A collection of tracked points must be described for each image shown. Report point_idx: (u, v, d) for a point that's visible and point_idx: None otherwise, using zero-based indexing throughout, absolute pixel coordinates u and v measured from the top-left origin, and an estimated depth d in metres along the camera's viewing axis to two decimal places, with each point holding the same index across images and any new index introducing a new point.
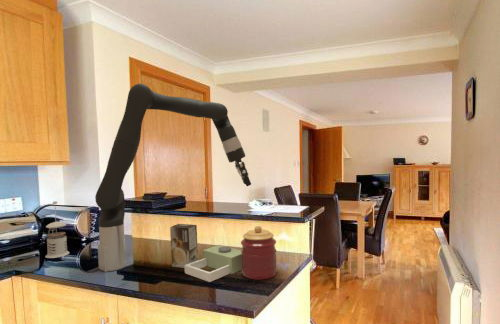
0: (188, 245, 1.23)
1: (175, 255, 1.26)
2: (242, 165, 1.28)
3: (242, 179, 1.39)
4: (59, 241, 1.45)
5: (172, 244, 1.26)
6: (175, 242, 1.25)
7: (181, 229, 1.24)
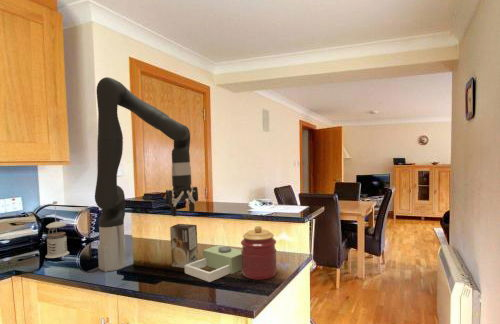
0: (188, 245, 1.23)
1: (175, 255, 1.26)
2: (168, 194, 1.22)
3: (189, 206, 1.31)
4: (59, 241, 1.45)
5: (172, 244, 1.26)
6: (175, 242, 1.25)
7: (181, 229, 1.24)
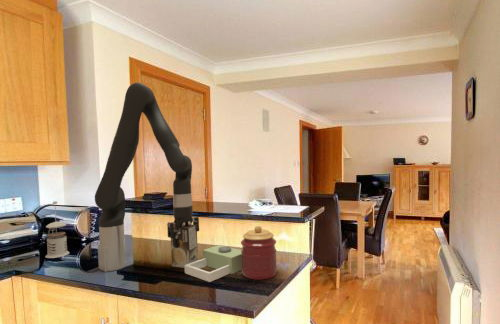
0: (188, 245, 1.23)
1: (175, 255, 1.26)
2: (169, 226, 1.22)
3: None
4: (59, 241, 1.45)
5: (172, 244, 1.26)
6: None
7: (181, 229, 1.24)
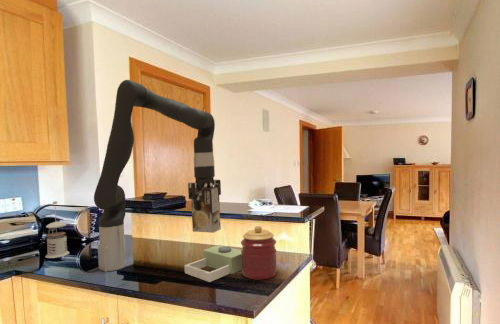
0: (211, 207, 1.14)
1: (197, 219, 1.16)
2: (191, 187, 1.12)
3: None
4: (59, 241, 1.45)
5: (193, 207, 1.17)
6: None
7: (203, 190, 1.15)
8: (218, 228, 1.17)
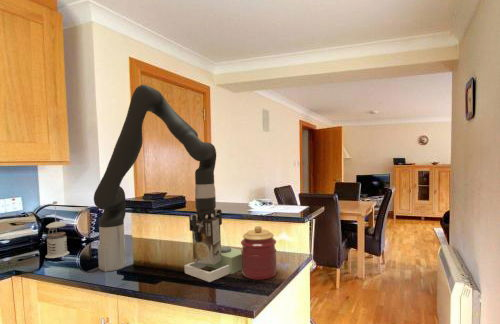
0: (212, 239, 1.14)
1: (198, 250, 1.16)
2: (192, 219, 1.13)
3: None
4: (59, 241, 1.45)
5: (194, 238, 1.17)
6: None
7: (204, 222, 1.15)
8: (219, 259, 1.17)
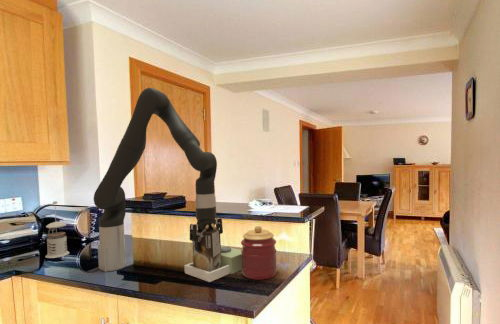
0: (212, 251, 1.14)
1: (198, 262, 1.16)
2: (192, 228, 1.13)
3: None
4: (59, 241, 1.45)
5: (194, 250, 1.17)
6: None
7: (204, 234, 1.15)
8: None
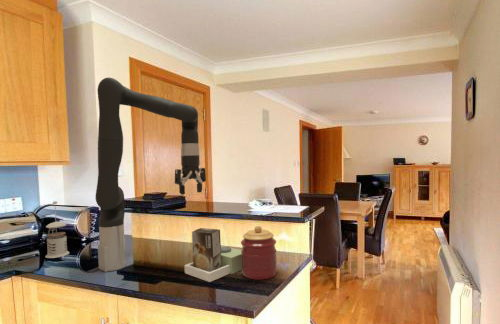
0: (212, 251, 1.14)
1: (198, 262, 1.16)
2: (177, 173, 1.27)
3: None
4: (59, 241, 1.45)
5: (194, 250, 1.17)
6: (198, 248, 1.16)
7: (204, 234, 1.15)
8: None
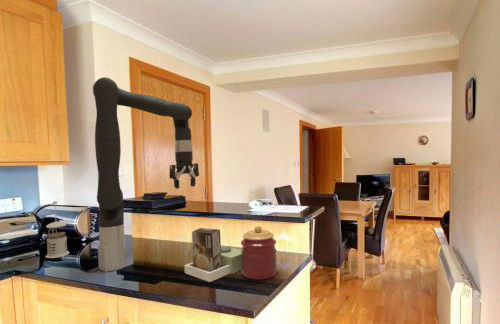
0: (212, 251, 1.14)
1: (198, 262, 1.16)
2: (171, 168, 1.35)
3: None
4: (59, 241, 1.45)
5: (194, 250, 1.17)
6: (198, 248, 1.16)
7: (204, 234, 1.15)
8: None
